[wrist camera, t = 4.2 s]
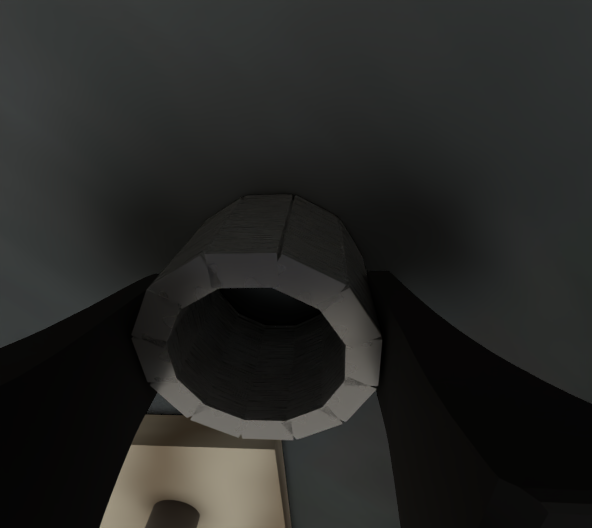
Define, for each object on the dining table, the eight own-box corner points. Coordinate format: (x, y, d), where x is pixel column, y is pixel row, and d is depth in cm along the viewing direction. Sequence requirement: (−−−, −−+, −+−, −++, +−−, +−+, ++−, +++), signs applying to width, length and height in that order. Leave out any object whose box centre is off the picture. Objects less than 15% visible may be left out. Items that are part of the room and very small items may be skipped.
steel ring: (365, 191, 10) (390, 250, 6) (358, 342, 12) (373, 442, 9) (176, 198, 10) (100, 256, 7) (209, 341, 13) (167, 436, 9)
